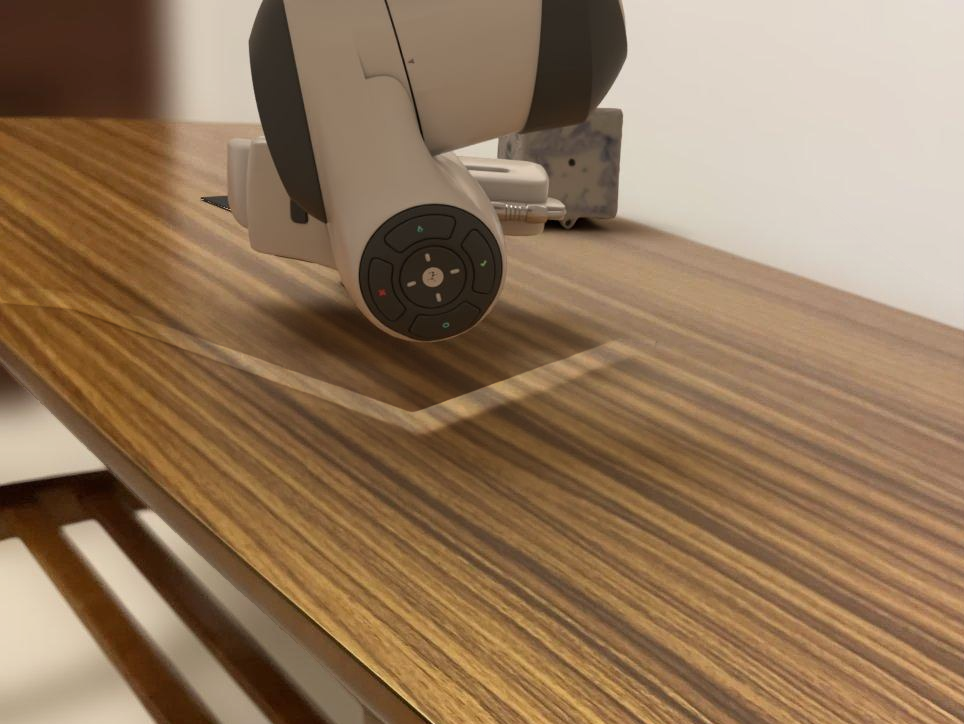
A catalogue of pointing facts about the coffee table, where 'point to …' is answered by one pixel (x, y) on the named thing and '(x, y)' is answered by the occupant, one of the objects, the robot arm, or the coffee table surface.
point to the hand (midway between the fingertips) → (381, 164)
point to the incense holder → (576, 163)
